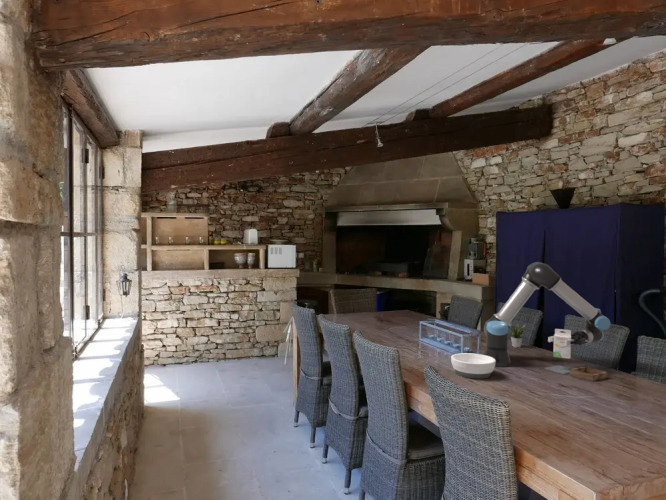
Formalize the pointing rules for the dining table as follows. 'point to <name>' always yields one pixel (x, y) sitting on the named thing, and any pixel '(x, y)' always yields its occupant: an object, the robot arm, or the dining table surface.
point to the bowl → (473, 365)
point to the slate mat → (559, 369)
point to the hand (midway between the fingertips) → (557, 341)
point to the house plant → (516, 336)
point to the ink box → (562, 344)
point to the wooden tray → (588, 373)
